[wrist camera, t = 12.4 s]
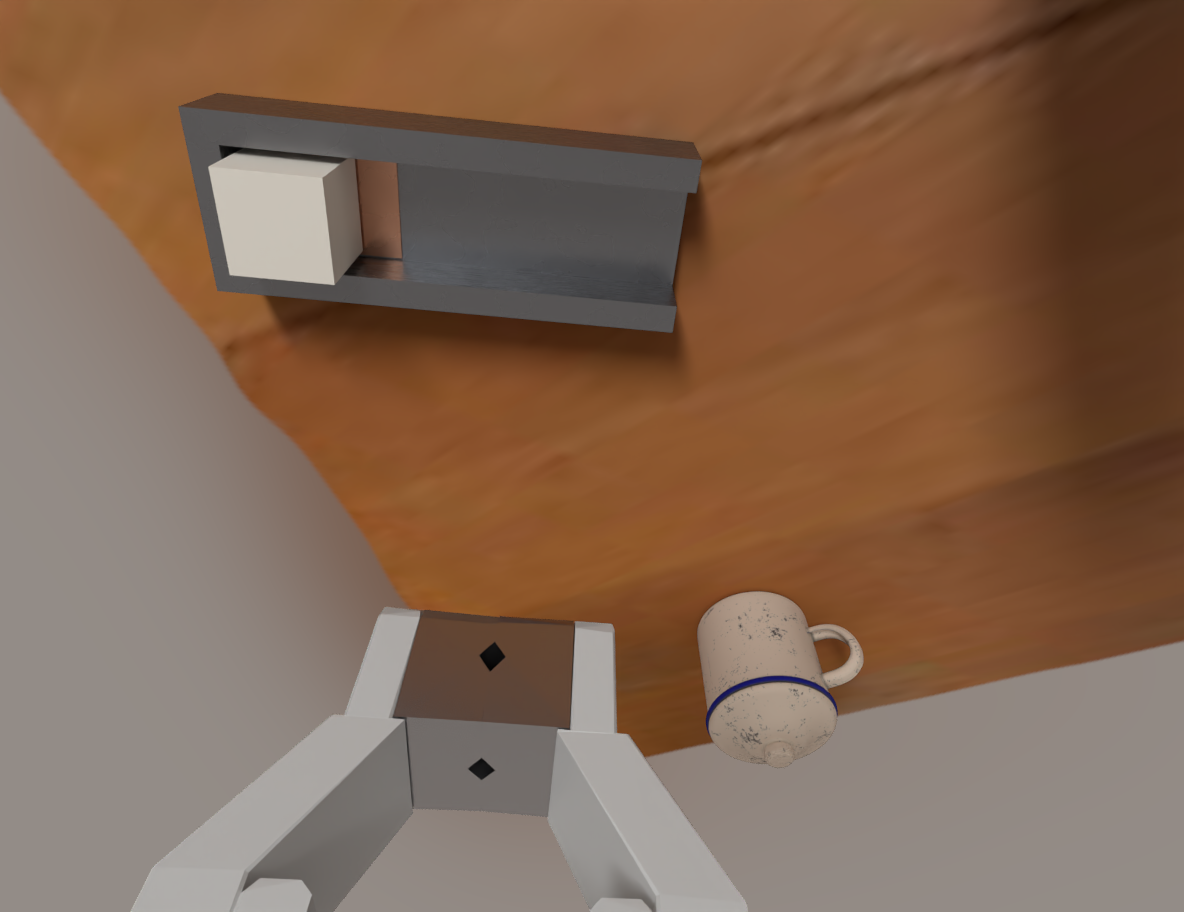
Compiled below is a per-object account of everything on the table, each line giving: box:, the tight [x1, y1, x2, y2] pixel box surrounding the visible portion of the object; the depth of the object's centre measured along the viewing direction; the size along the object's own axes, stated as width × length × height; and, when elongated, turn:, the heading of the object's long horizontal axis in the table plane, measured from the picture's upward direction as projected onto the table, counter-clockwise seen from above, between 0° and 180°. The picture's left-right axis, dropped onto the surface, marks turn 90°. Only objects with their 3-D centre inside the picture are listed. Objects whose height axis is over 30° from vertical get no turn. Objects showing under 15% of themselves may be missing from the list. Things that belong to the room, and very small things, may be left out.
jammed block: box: [208, 148, 363, 285], centre depth 35 cm, size 5×5×5 cm
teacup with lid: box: [697, 591, 864, 768], centre depth 52 cm, size 12×9×12 cm
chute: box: [178, 93, 702, 333], centre depth 37 cm, size 24×9×4 cm, turn 85°
